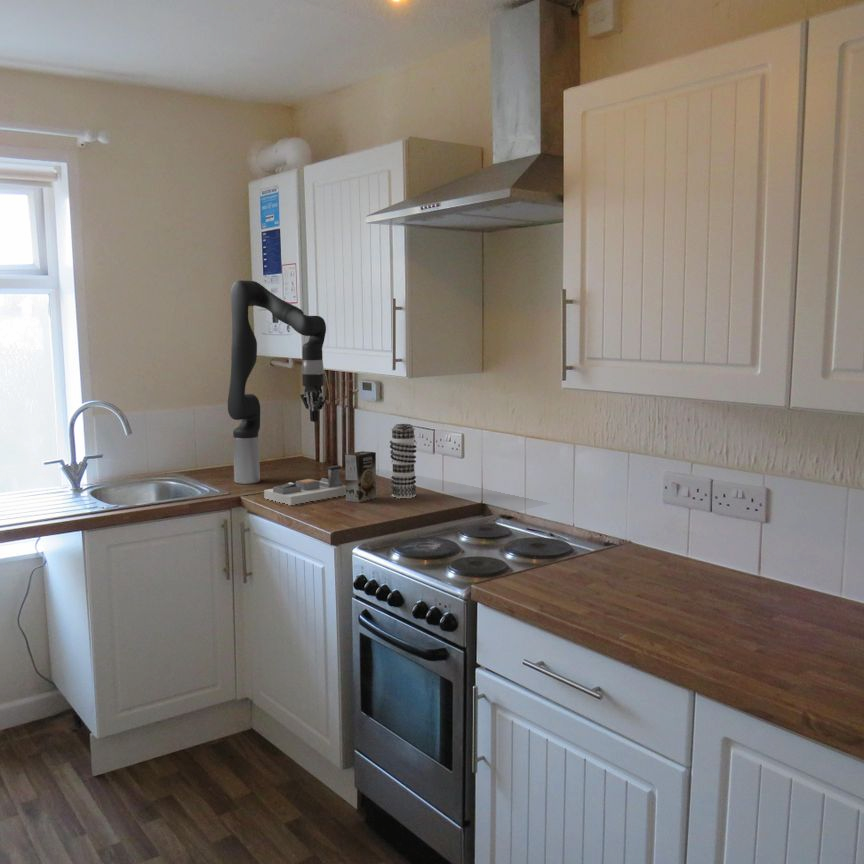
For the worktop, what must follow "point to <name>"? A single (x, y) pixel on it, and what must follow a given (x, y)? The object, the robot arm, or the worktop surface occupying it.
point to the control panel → (305, 492)
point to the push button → (307, 481)
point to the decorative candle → (403, 461)
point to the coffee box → (360, 476)
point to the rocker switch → (287, 485)
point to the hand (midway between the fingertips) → (314, 421)
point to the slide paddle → (334, 475)
